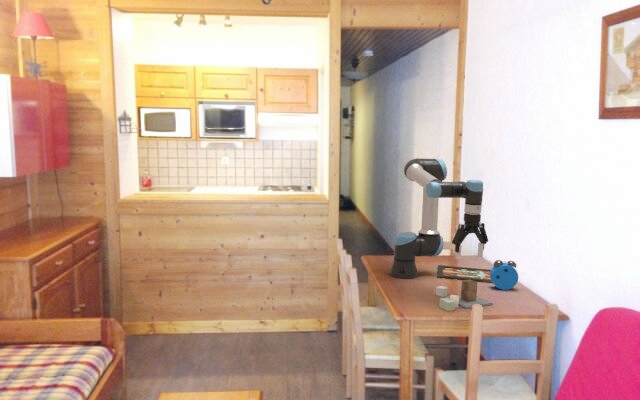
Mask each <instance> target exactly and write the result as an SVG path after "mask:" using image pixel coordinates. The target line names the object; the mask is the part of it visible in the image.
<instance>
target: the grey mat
mask: <svg viewBox="0 0 640 400" xmlns="http://www.w3.org/2000/svg"><path fill="white" fill-rule="evenodd" d="M457 295H458V296H459V306H458V307H461V308H463V309H465V310H469V309H470V310H471V309H472V308H471V307H472V305H474V304H480V305H482V306H483V307H490V306H493V304H494V303H493V302H492V301H490V300H488V299H484V298H482V297H479V296H477V295H476V301H472V302H467V301H464V300H462V299H461V293H460V294H457ZM442 298H448V299H450V295H447V296H444V297H442Z"/></svg>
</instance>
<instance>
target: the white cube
mask: <svg viewBox="0 0 640 400" xmlns="http://www.w3.org/2000/svg"><path fill="white" fill-rule="evenodd" d="M435 296H438V297H440V298H441V297H442V298H443V297H445V296H448V287H446V286H444V285H440V286H436V287H435Z"/></svg>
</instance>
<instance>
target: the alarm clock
mask: <svg viewBox="0 0 640 400" xmlns="http://www.w3.org/2000/svg"><path fill="white" fill-rule="evenodd" d="M515 268H517V263H516V262H515V261H514V260H508V261H502V260H501V259H497V260H494V262H493V267H492V268H491V269H490V270H491V271H490V279H491V281H492V282H493V283H492V284H493V285H494V288H497V289H500V290H503V291H508V290H511V289H513V288H514V287H515V286H516V285H517V284H518V281H519V273H518V271H517V269H515Z"/></svg>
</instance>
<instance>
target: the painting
mask: <svg viewBox="0 0 640 400" xmlns="http://www.w3.org/2000/svg"><path fill="white" fill-rule="evenodd" d="M445 268H452V269H453V270H451V271H450V270H449V271H448V270H446V269H445ZM490 271H491V269H485V268H473V267H465V266H464V267H463V266H452V265H443V264H438V265H437V273H436V278H438V279H442V278H445V279H444V280H453V279H457V280H456V281H462V280H473V281H475V282H477V283H486V284H487V283H488V284H493V282H492V281H491V279H490Z"/></svg>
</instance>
